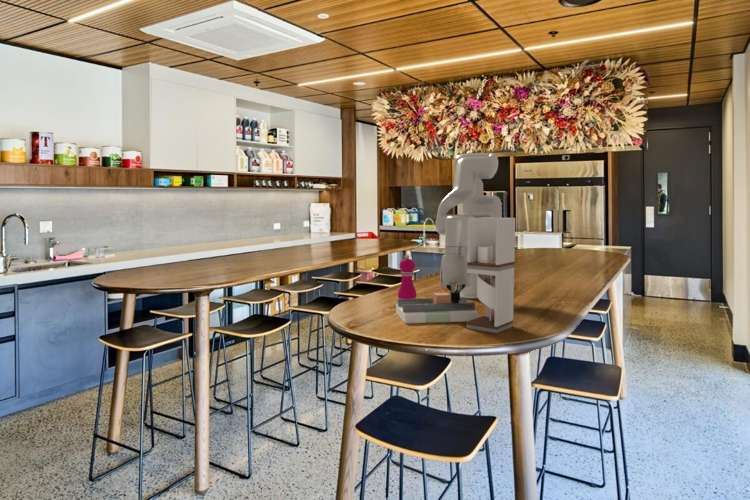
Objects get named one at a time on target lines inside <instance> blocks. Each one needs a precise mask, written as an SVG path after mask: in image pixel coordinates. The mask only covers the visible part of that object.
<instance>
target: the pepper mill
mask: <svg viewBox="0 0 750 500" xmlns="http://www.w3.org/2000/svg"><path fill="white" fill-rule="evenodd" d="M398 265H399V270H401V271H400V276H401V283H400V286H399V288H398V291H397V299H414V298H417V291H416V288H415V285H414V282H413V281H414V280H413V276H414V272H415V271H414V269H415V267H416V263H415V261H414V260H413V259H411V258H410V255H409V254H405V255H404V258H403V259H402V260H401V261H400V262H399V264H398Z"/></svg>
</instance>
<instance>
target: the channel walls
mask: <svg viewBox="0 0 750 500" xmlns="http://www.w3.org/2000/svg"><path fill="white" fill-rule="evenodd" d="M397 304H398V306H403V312H435V311H468V310H475V311H476V302H472V301H471V302H467V298H466V297H460V301H459V303H452V301H451V303H436V304H433V297H426V298H425V297H422V298H420V297H419V298H417V297H416V298H414V299H399V298H397Z"/></svg>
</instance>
